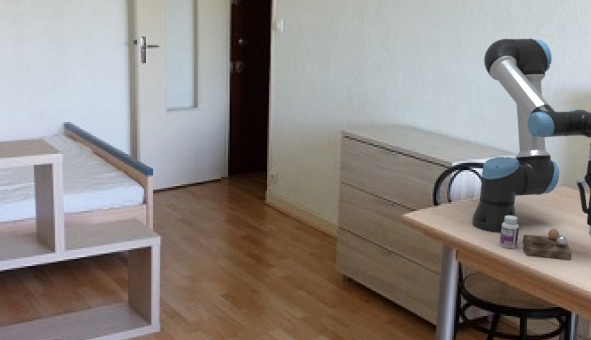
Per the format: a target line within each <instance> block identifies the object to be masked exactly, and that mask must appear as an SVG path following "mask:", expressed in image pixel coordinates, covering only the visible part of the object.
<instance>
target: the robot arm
mask: <svg viewBox="0 0 591 340" xmlns="http://www.w3.org/2000/svg"><path fill="white" fill-rule="evenodd" d="M552 59H553V58H552V52H551V49H550V47H549V45H548V44H547V43H546V42H545V41H544V40H542V39H534V38H502V39H501V38H500V39H498V40H496V41H494V42H492V43H491V44H490V45H489V46H488V48H487V49H486V51H485V53H484V58H483V60H484V61H483V62H484V63H483V64H484V67H485V69H486V72H487V73H488V75H489V76H490V77H491V78H492V79H493V80H494V81H498V82H499V84H500V85H501V86H502V87H503V89H504V90H505V91H506V92H507V94H508V95H509V96H510V97H511V99H513V101H514V102H515V104H516V114H517V115H516V116H517V128H518V129H517V130H518V144H519V145H518V147H519V152H518V153H517V154H516V156H515V157H509V156H505V157H504V156H497V157H492V158H489V159H487V160H486V161H485V162H484V164H483V166H482V171H481V182H480V193H479V194H480V195H479V203H478V204H477V207H476V209H475V210H474V213H473V215H472V222H471V223H472V225H473V226H474V227H476V228H477V229H478V228H479V229H481V230H485V231H489V232H494V233H495V232H496V233H501V227H502V223H503V222H505V220H504V219H505V216H509V215H510V216H516V217H517V212H516V208H515V202H516V201H515V200H516V196H533V195H537V196H538V195H540V196H541V195H544V194H549V193H551V192H553V191H554V189H555V188H556V187H557V185H558V183H559V179H560V169H559V166H558V165H557V163H556V162H555V161H554V160H552V158H551V156H552V155H551V154H550V153H549V152H548V151H547V150H546V140H545V139H546V138H551V137H553V138H554V137H574V136H575V137H576V136H577V137H579V136H582V137H586V138H590V139H591V112H590V111H587V110H585V109H578V108H577V109H571V110H569V111H556V110H554V108H553V107H552V106H551V105H550V104H549V103H548V101H546V99H545V98H544V97H543V94H542V93H543V91H542V90H543V89H542V81H543V79H545V78H546V72H547V71H549V69H550V67H551V64H552ZM588 159H589V160H588V162H587V168H586V174H585V176H584V178H583V179H581V180H577V181H576V182H575V183H576V185H577V188H578V191H579V199H580V203H581V204H580V205H581V210H582V212H583V213H584V214H587V217H586V218H587V219H586V224H587V226H589V228H588V230H589V231H588V234H589V237H591V142H590V144H589V153H588ZM586 185H587V186H588V188H589V190H590V191H589V200H588V203H587V199H586V190H585V187H586ZM587 204H588V205H587ZM517 218H518V217H517ZM517 224H518V220H517ZM518 225H519V224H518Z"/></svg>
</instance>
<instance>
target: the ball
mask: <svg viewBox="0 0 591 340" xmlns="http://www.w3.org/2000/svg"><path fill="white" fill-rule="evenodd" d="M567 243H568V238H567V237H566V236H564V235H559V236H558V237H557V238H556V244H557V245H558V246H565V245H566V244H567Z"/></svg>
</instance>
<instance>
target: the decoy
mask: <svg viewBox="0 0 591 340" xmlns="http://www.w3.org/2000/svg"><path fill="white" fill-rule="evenodd" d="M547 235H548V236H547V237H549V238H551V239H553V240H555V239H556V238H557V237H558V236H560V232H559V230H558V229H556V228H552V229H550V230H548V232H547Z"/></svg>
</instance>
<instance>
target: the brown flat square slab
mask: <svg viewBox="0 0 591 340" xmlns="http://www.w3.org/2000/svg"><path fill="white" fill-rule="evenodd" d="M522 237H523V238H522V244H523V247H522V248H523V252H524V253H525V255H526V257H532V258H546V259H552V260H554V259H555V260H564V261H565V260H566V261H571V260H572V253H573V252H572V250H571V248H570V246H569V243H568V242H567V244H566V245H565V246H558V245H557V244H556V239H555V240H553V239H551V238H549V236H543V235H531V234H523V236H522Z"/></svg>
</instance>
